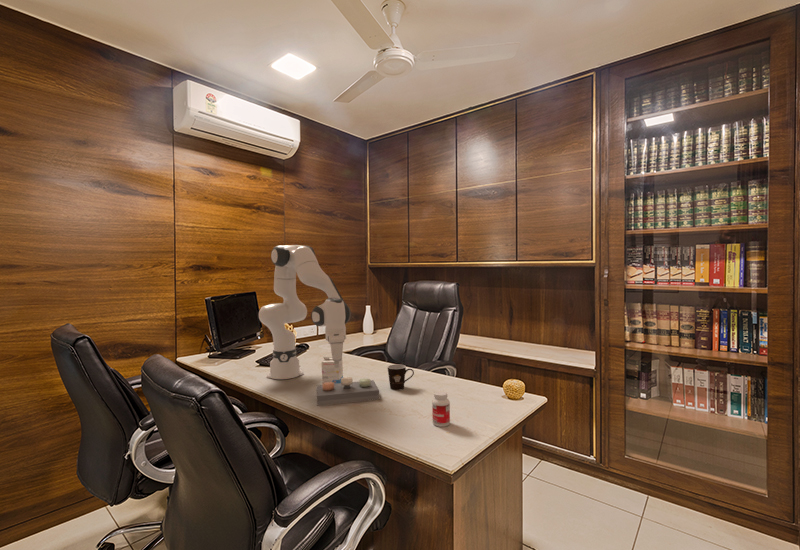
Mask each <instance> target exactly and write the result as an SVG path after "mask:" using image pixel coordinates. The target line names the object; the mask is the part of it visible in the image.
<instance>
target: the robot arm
mask: <svg viewBox="0 0 800 550" xmlns="http://www.w3.org/2000/svg"><path fill="white" fill-rule="evenodd" d="M270 258H271V262H272V263H273V265H274V267H275V268H274V273H273V274H274V277H273V279H274V280H273V291H274V293H275V295H277V296H279V297H280V298H282V299H283V302H281V303H280V302H279V303H269V304H267V305H263V306H261V307H260V310H259V311H258V319H259V322H260V323H262V324H263V325H264V326H266V327H267V328H268V330H269V331H270V333H271V334H272V335H271V336H272V342H273V350H272V357H273V358H272V360H270V362H269V364H270V365H269V373H268V374H266V378H268V379H273V380H288V379H294V378H296V377H299V376H303V375H304V371H303V369H301V365H300V359H299V358H298V357H297V347H296V335H295V333H294V332H293V331H291V330H289V329H287V328H286V327H285V325H286V324H291V323H297V322H300V321H304V320H305V319H306V317H307V315H308V309H307V306H306V305H305V303H304V302H302V301H301V300H300V299H299V296H298V294H297V286H296V285H297V277H298V279H299V281H300V282H301V283H302V284H304V285H305V286H308V287H312V288H316V289H318V290H321V291H323V292H324V293H325V294H326V296H327V298H326V299H325V301H324V302H322V304H320V305H317V306H314V307H313V309H312V311H311V321H312V323H313V324H314V325H315V326H316V327H325V329H324V330H325V333H324V334H325V341H327V342H328V344H329V346H330V350H331V357H332V359H333V361H334V364H335V368H339V361H341V360H342V361H343V349H344V343H345V340H346V339H347V332H346V331H347V327H346V324H347V323H348V322H349V321H350V319H351V316H352V312H351V309H350V306H349V305H348V304H347V303H346V302H345V300H344V299H343V297H342V296H341V294H340V291H339V289H338V288H337V287H336V285H335V283H334V281H333V279H332V278H331V277H330V276H329V275H328V274H326V273H325V272H324V270H323V269H322V268H321V266H320V264H319V262H318V259H317V257H316V252H315V250H314V248H313V247H312V246H309V245H299V244H290V245H275V246H274V247H273V248H272V250H271V254H270Z"/></svg>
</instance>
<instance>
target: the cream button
mask: <svg viewBox="0 0 800 550" xmlns="http://www.w3.org/2000/svg"><path fill="white" fill-rule="evenodd" d="M353 382H354V381H353V377H351V376H345V377H344V376H343V378H341V385H344V389H350V385H351V384H353Z"/></svg>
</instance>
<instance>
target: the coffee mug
mask: <svg viewBox="0 0 800 550" xmlns="http://www.w3.org/2000/svg"><path fill="white" fill-rule="evenodd" d="M406 368H407V366H406V365H404V364H398V363H396V364H389V365H387V372H388V379H389V380H388V382H389V386H390V387H389V388H390V390H393V391H401V390H403V389H405V383H406V382H407V381H409V380H410V379H411V378H412V377H413V376H414V374H415V373H414V369H413V368H407V369H406ZM408 371H412V374H411V375H410V376H409V377H408V378H406V374H407V373H408Z"/></svg>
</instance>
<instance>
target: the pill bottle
mask: <svg viewBox="0 0 800 550" xmlns="http://www.w3.org/2000/svg"><path fill="white" fill-rule="evenodd" d="M433 397H434V398H433V399H432V401H431V402H432V406H431V407H432V409H431V410H432V415H431V416H432V424H433V425H434V426H436V427H439V428H445V427H448V426H450V424H451V411H450V410H451V409H450V407H451V406H450V405H451V402H450V400H449V398H448V392H446V391H444V390H443V391H442V390H436V391H435V392H434V394H433Z"/></svg>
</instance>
